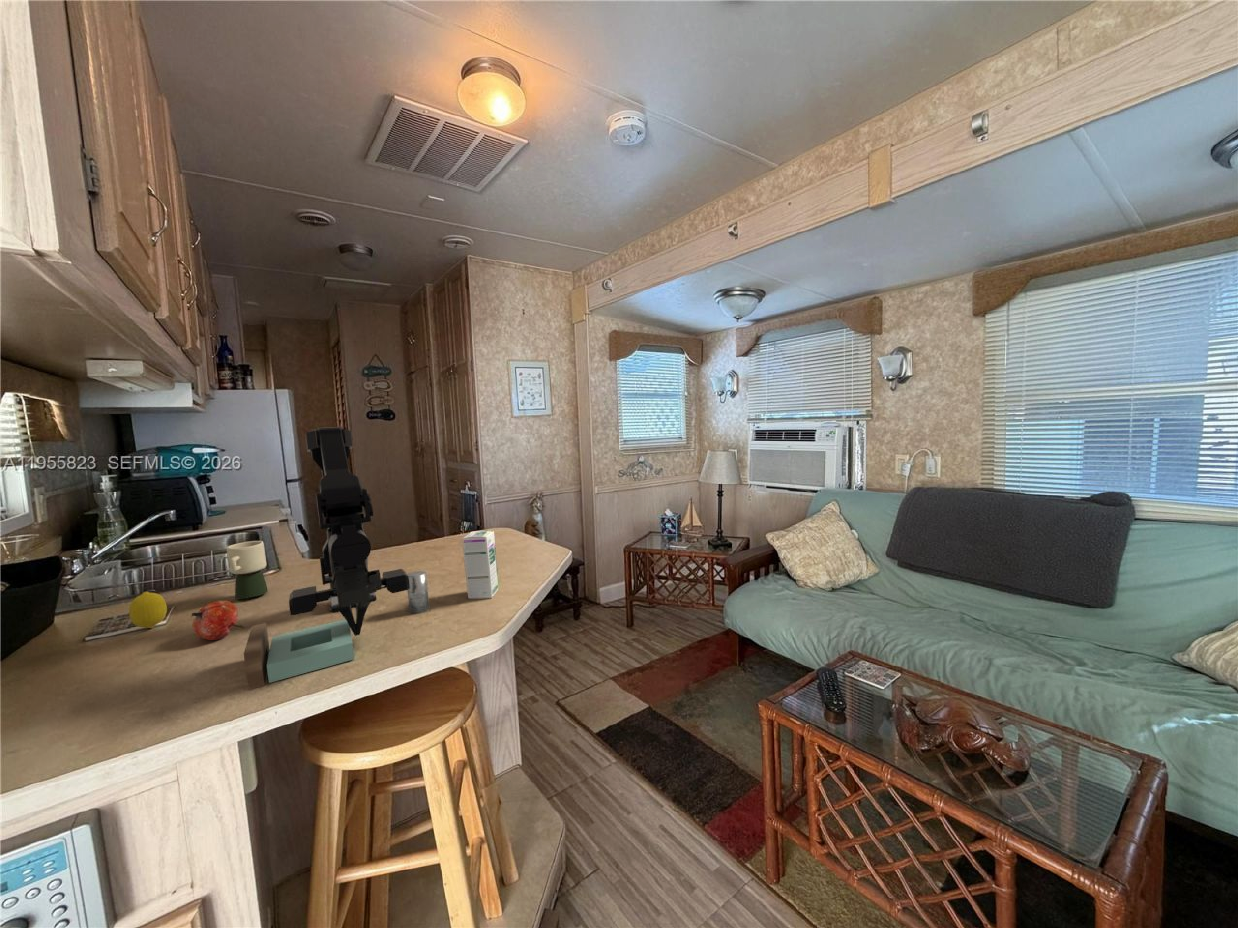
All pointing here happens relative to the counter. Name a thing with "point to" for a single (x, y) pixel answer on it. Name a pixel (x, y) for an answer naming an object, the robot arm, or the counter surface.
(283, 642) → the socket block
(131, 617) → the lemon
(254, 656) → the backstop wall
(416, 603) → the dowel
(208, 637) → the red rounded lumpy piece
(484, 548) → the syrup box
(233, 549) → the character mug
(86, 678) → the counter surface
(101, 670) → the counter surface
